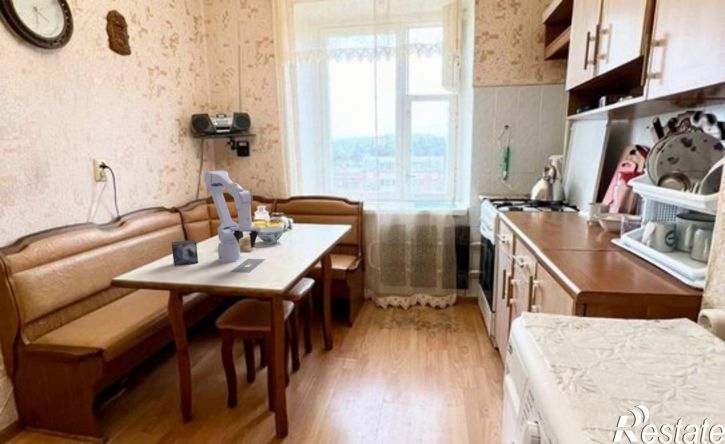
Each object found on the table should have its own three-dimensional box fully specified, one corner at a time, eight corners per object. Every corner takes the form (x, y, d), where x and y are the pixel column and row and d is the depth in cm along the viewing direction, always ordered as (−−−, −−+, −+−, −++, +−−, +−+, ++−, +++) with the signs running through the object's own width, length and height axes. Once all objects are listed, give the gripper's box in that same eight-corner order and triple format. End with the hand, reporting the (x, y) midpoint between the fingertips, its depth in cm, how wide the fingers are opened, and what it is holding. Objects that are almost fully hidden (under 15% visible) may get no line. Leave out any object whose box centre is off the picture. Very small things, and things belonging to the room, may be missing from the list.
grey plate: (229, 272, 175) (229, 272, 175) (248, 259, 194) (248, 258, 194) (249, 273, 174) (249, 272, 174) (265, 259, 193) (265, 259, 193)
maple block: (239, 252, 180) (238, 239, 179) (244, 249, 185) (243, 237, 184) (250, 252, 180) (249, 239, 179) (254, 249, 185) (253, 237, 183)
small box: (174, 266, 185) (171, 244, 183) (173, 263, 190) (171, 241, 188) (198, 263, 190) (196, 241, 187) (197, 259, 195) (195, 239, 193)
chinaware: (289, 241, 229) (288, 227, 227) (270, 247, 216) (269, 233, 215) (270, 238, 237) (269, 225, 235) (251, 243, 224) (250, 230, 223)
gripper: (225, 219, 176) (228, 249, 179) (256, 219, 175) (259, 249, 177) (232, 216, 183) (234, 245, 186) (262, 216, 181) (264, 245, 184)
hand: (247, 247), depth 182 cm, fingers closed on maple block, 5 cm apart
